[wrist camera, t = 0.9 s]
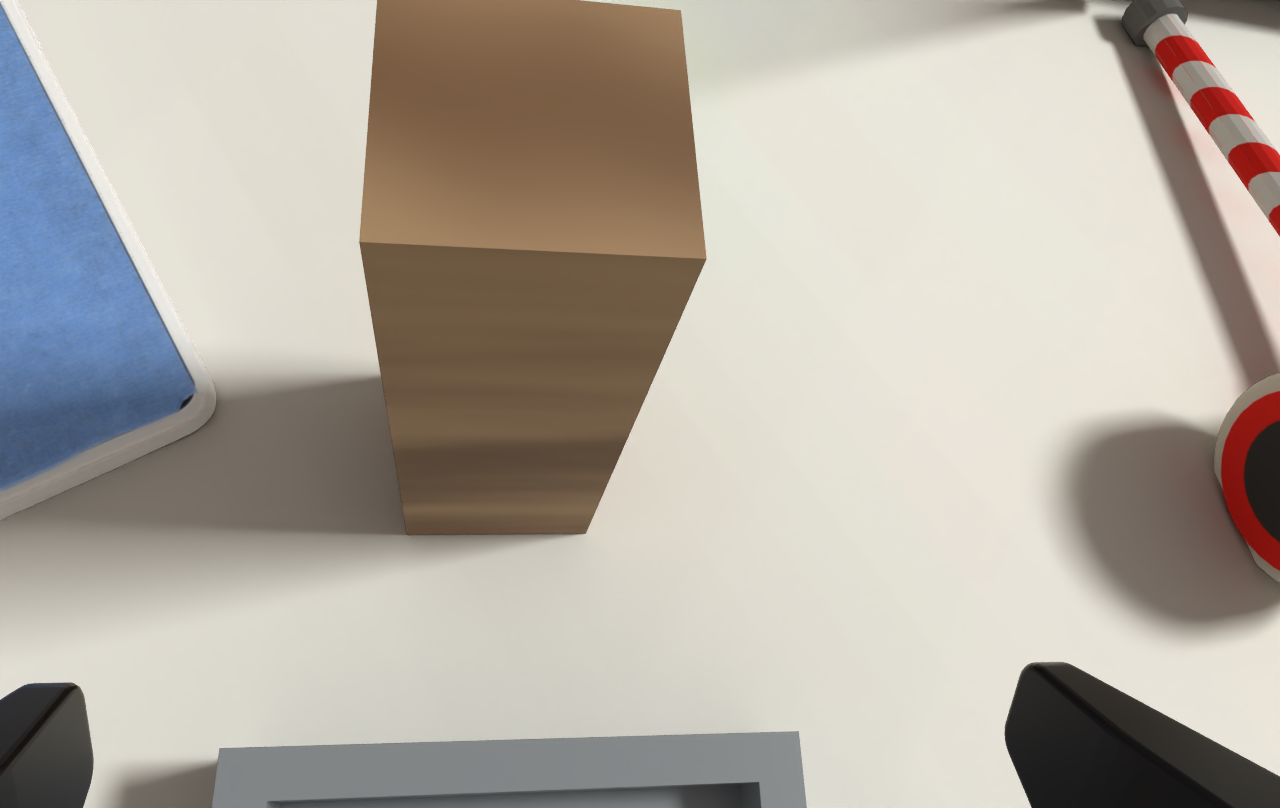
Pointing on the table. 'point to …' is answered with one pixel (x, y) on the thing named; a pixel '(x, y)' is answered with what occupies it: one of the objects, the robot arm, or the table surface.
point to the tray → (521, 773)
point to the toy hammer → (1276, 406)
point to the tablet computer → (76, 302)
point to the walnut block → (523, 248)
